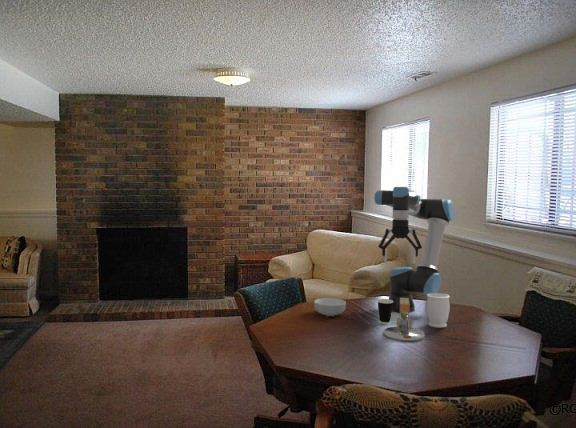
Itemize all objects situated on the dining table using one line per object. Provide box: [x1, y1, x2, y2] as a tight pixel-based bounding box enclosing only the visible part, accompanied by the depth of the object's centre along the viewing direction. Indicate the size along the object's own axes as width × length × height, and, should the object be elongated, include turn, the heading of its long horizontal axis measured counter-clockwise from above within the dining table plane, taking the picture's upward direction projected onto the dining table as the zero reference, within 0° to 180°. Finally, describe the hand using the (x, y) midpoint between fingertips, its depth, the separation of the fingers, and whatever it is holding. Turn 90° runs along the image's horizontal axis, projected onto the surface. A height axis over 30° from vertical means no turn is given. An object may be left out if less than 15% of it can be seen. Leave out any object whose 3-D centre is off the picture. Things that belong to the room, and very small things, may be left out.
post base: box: [383, 316, 425, 343], centre depth 220 cm, size 18×18×8 cm
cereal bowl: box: [313, 297, 347, 317], centre depth 255 cm, size 17×17×7 cm
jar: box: [426, 292, 451, 329], centre depth 235 cm, size 11×10×15 cm
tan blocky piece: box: [396, 298, 413, 329], centre depth 219 cm, size 7×13×13 cm, turn 167°
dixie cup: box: [376, 298, 393, 325], centre depth 240 cm, size 8×8×11 cm
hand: (399, 263), depth 233 cm, fingers open, 13 cm apart
